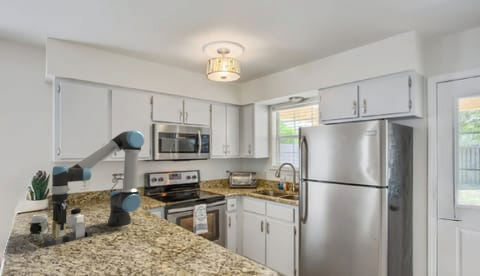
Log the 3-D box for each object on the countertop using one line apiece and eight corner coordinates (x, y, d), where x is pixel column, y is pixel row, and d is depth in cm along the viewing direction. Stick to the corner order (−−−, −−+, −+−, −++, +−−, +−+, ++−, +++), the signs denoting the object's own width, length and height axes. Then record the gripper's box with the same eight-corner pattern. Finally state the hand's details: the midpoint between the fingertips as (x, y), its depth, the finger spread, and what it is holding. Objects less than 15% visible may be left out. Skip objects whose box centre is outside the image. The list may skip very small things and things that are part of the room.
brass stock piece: (62, 233, 158) (62, 219, 158) (65, 235, 155) (66, 220, 155) (52, 235, 154) (52, 221, 154) (55, 237, 151) (56, 222, 151)
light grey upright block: (81, 235, 166) (81, 221, 166) (84, 236, 163) (84, 223, 163) (72, 237, 162) (72, 223, 162) (75, 239, 159) (75, 224, 159)
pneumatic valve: (29, 243, 153) (29, 221, 154) (38, 237, 164) (38, 217, 165) (40, 242, 155) (40, 221, 155) (48, 236, 166) (49, 216, 166)
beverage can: (39, 236, 166) (39, 216, 166) (27, 236, 167) (28, 216, 168) (50, 232, 174) (51, 213, 174) (40, 232, 175) (40, 213, 176)
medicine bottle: (83, 225, 191) (84, 207, 192) (76, 227, 184) (76, 209, 185) (74, 224, 192) (74, 207, 192) (66, 227, 185) (67, 209, 185)
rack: (85, 233, 170) (85, 229, 170) (92, 236, 164) (92, 231, 165) (43, 243, 152) (43, 238, 153) (50, 247, 147) (50, 241, 147)
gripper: (46, 192, 158) (45, 233, 157) (58, 195, 147) (57, 239, 146) (61, 191, 164) (60, 230, 163) (74, 193, 153) (73, 236, 152)
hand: (59, 234), depth 155 cm, fingers closed on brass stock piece, 5 cm apart
